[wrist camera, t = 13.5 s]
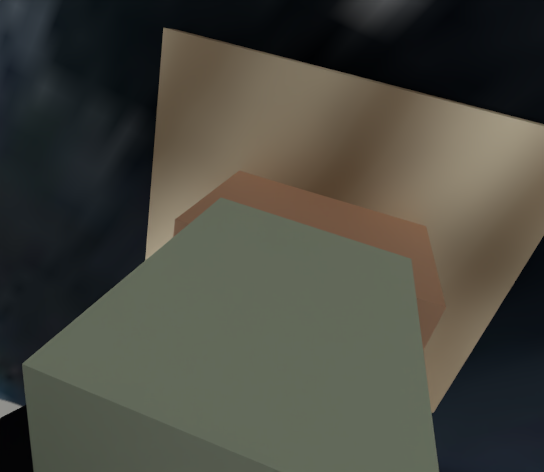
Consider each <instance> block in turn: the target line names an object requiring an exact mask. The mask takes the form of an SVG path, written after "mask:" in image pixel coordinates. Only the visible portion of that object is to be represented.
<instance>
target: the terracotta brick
mask: <svg viewBox="0 0 544 472" xmlns="http://www.w3.org/2000/svg"><path fill="white" fill-rule="evenodd" d="M219 198H225V199H228V200H231V201H234V202H237V203H240V204H243V205H246V206H249V207H252V208H256V209H259V210H262V211H265V212H268V213H271V214H274V215H277V216H280V217H283V218H286V219H290V220H293V221H296V222H299V223H302V224H305V225H308V226H311V227H314V228H317V229H321V230H324V231H327V232H330V233H333V234H336V235H339V236H342V237H345V238H348V239H352V240H355V241H358V242H361V243H364V244H367V245H370V246H373V247H376V248H379V249H383V250H386V251H389V252H392V253H395V254H398V255H401V256H404V257H407V258H410V259H411V260H412V268H413V276H414V283H415V291H416V299H417V306H418V314H419V322H420V329H421V337H422V345H423V350H424V348H425V346H426V344H427V343H428V341H429V339H430V337H431V335H432V333H433V331H434V329H435V328H436V326H437V324H438V322H439V320H440V318H441V316H442V314H443V312H444V311H445V309H446V304H445V300H444V296H443V292H442V288H441V284H440V280H439V276H438V272H437V268H436V264H435V260H434V256H433V252H432V248H431V244H430V240H429V236H428V232H427V228H426V226H424V225H420V224H417V223H413V222H410V221H407V220H403V219H400V218H397V217H393V216H390V215H387V214H383V213H380V212H376V211H373V210H370V209H366V208H363V207H360V206H356V205H353V204H350V203H346V202H343V201H339V200H336V199H333V198H329V197H326V196H323V195H319V194H316V193H313V192H309V191H306V190H302V189H299V188H296V187H292V186H289V185H286V184H282V183H279V182H276V181H272V180H269V179H265V178H262V177H259V176H255V175H252V174H249V173H245V172H242V171H238V172H236V173H235V174H234V175H233V176H231V177H230V178H229V179H227V180H226V181H225V182H223V183H222V184H221V185H219V186H218V187H217V188H216V189H214V190H213V191H212V192H210V193H209V194H208V195H206V196H205V197H204V198H202V199H201V200H200V201H199V202H197V203H196V204H195V205H193V206H192V207H191V208H189V209H188V210H187V211H185V212H184V213H183V214H181V215H180V216H179V217H178V218H176V219H175V225H174V234H173V237H174V236H175V235H177V234H178V233H179V232H180V231H181V230H182V229H184V228H185V227H186V226H187V225H188V224H190V223H191V222H192V221H193V220H194V219H196V218H197V217H198V216H199V215H200V214H202V213H203V212H204V211H205V210H206V209H208V208H209V207H210V206H211V205H212V204H214V203H215V202H216V201H217V200H218V199H219Z"/></svg>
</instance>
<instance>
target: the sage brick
mask: <svg viewBox="0 0 544 472" xmlns="http://www.w3.org/2000/svg"><path fill="white" fill-rule="evenodd" d="M22 369H23V378H24V387H25V396H26V406H27V415H28V424H29V434H30V443H31V452H32V461H33V471H34V472H439V468H438V460H437V452H436V444H435V437H434V429H433V421H432V414H431V406H430V398H429V391H428V383H427V375H426V368H425V360H424V352H423V345H422V337H421V329H420V322H419V314H418V306H417V299H416V291H415V283H414V276H413V268H412V260H411V259H410V258H407V257H404V256H401V255H398V254H395V253H392V252H389V251H386V250H383V249H379V248H376V247H373V246H370V245H367V244H364V243H361V242H358V241H355V240H352V239H348V238H345V237H342V236H339V235H336V234H333V233H330V232H327V231H324V230H321V229H317V228H314V227H311V226H308V225H305V224H302V223H299V222H296V221H293V220H290V219H286V218H283V217H280V216H277V215H274V214H271V213H268V212H265V211H262V210H259V209H256V208H252V207H249V206H246V205H243V204H240V203H237V202H234V201H231V200H228V199H225V198H219V199H218V200H217V201H216V202H215V203H214V204H212V205H211V206H210V207H209V208H208V209H206V210H205V211H204V212H203V213H202V214H200V215H199V216H198V217H197V218H196V219H194V220H193V221H192V222H191V223H190V224H188V225H187V226H186V227H185V228H184V229H182V230H181V231H180V232H179V233H178V234H177V235H175V236H174V237H173V238H172V239H171V240H169V241H168V242H167V243H166V244H165V245H163V246H162V247H161V248H160V249H159V250H157V251H156V252H155V253H154V254H153V255H151V256H150V257H149V258H148V259H147V260H146V261H144V262H143V263H142V264H141V265H140V266H138V267H137V268H136V269H135V270H134V271H132V272H131V273H130V274H129V275H128V276H126V277H125V278H124V279H123V280H122V281H120V282H119V283H118V284H117V285H116V286H114V287H113V288H112V289H111V290H110V291H109V292H107V293H106V294H105V295H104V296H103V297H101V298H100V299H99V300H98V301H97V302H95V303H94V304H93V305H92V306H91V307H89V308H88V309H87V310H86V311H85V312H83V313H82V314H81V315H80V316H79V317H77V318H76V319H75V320H74V321H73V322H72V323H70V324H69V325H68V326H67V327H66V328H64V329H63V330H62V331H61V332H60V333H58V334H57V335H56V336H55V337H54V338H52V339H51V340H50V341H49V342H48V343H46V344H45V345H44V346H43V347H42V348H41V349H39V350H38V351H37V352H36V353H35V354H33V355H32V356H31V357H30V358H29V359H27V360H26V361H25V362H24V363H23V364H22Z"/></svg>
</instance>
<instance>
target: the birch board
mask: <svg viewBox="0 0 544 472" xmlns="http://www.w3.org/2000/svg"><path fill="white" fill-rule="evenodd" d="M238 171H242V172H245V173H249V174H252V175H255V176H259V177H262V178H265V179H269V180H272V181H276V182H279V183H282V184H286V185H289V186H292V187H296V188H299V189H302V190H306V191H309V192H313V193H316V194H319V195H323V196H326V197H329V198H333V199H336V200H339V201H343V202H346V203H350V204H353V205H356V206H360V207H363V208H366V209H370V210H373V211H376V212H380V213H383V214H387V215H390V216H393V217H397V218H400V219H403V220H407V221H410V222H413V223H417V224H420V225H424V226H426V228H427V232H428V236H429V240H430V244H431V248H432V252H433V256H434V260H435V264H436V268H437V272H438V276H439V280H440V284H441V288H442V292H443V296H444V300H445V304H446V309H445V311H444V312H443V314H442V316H441V318H440V320H439V322H438V324H437V326H436V328H435V329H434V331H433V333H432V335H431V337H430V339H429V341H428V343H427V344H426V346H425V348H424V350H423V352H424V360H425V368H426V375H427V383H428V391H429V398H430V406H431V412H432V413H434V411H435V409H436V408H437V406H438V404H439V403H440V401H441V400H442V398H443V396H444V395H445V393H446V392H447V390H448V388H449V387H450V385H451V384H452V382H453V380H454V379H455V377H456V376H457V374H458V372H459V371H460V369H461V368H462V366H463V364H464V363H465V361H466V359H467V358H468V356H469V355H470V353H471V351H472V350H473V348H474V347H475V345H476V343H477V342H478V340H479V339H480V337H481V335H482V334H483V332H484V331H485V329H486V327H487V326H488V324H489V322H490V321H491V319H492V318H493V316H494V314H495V313H496V311H497V310H498V308H499V306H500V305H501V303H502V302H503V300H504V298H505V297H506V295H507V294H508V292H509V290H510V289H511V287H512V285H513V284H514V282H515V281H516V279H517V277H518V276H519V274H520V273H521V271H522V269H523V268H524V266H525V265H526V263H527V261H528V260H529V258H530V257H531V255H532V253H533V252H534V250H535V249H536V247H537V245H538V244H539V242H540V240H541V239H542V237H543V236H544V124H541V123H537V122H533V121H529V120H525V119H521V118H518V117H514V116H510V115H506V114H502V113H498V112H494V111H490V110H487V109H483V108H479V107H475V106H471V105H467V104H463V103H459V102H456V101H452V100H448V99H444V98H440V97H436V96H432V95H428V94H424V93H421V92H417V91H413V90H409V89H405V88H401V87H397V86H393V85H390V84H386V83H382V82H378V81H374V80H370V79H366V78H362V77H359V76H355V75H351V74H347V73H343V72H339V71H335V70H331V69H328V68H324V67H320V66H316V65H312V64H308V63H304V62H300V61H297V60H293V59H289V58H285V57H281V56H277V55H273V54H269V53H266V52H262V51H258V50H254V49H250V48H246V47H242V46H238V45H235V44H231V43H227V42H223V41H219V40H215V39H211V38H207V37H203V36H200V35H196V34H192V33H188V32H184V31H180V30H175V29H168V28H163V40H162V53H161V65H160V78H159V91H158V104H157V117H156V130H155V142H154V155H153V168H152V181H151V194H150V207H149V219H148V232H147V245H146V258H145V261H146V260H147V259H148V258H149V257H150V256H151V255H153V254H154V253H155V252H156V251H157V250H159V249H160V248H161V247H162V246H163V245H165V244H166V243H167V242H168V241H169V240H171V239H172V238H173V234H174V225H175V219H176V218H178V217H179V216H180V215H181V214H183V213H184V212H185V211H187V210H188V209H189V208H191V207H192V206H193V205H195V204H196V203H197V202H199V201H200V200H201V199H202V198H204V197H205V196H206V195H208V194H209V193H210V192H212V191H213V190H214V189H216V188H217V187H218V186H219V185H221V184H222V183H223V182H225V181H226V180H227V179H229V178H230V177H231V176H233V175H234V174H235V173H236V172H238Z"/></svg>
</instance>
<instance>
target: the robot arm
mask: <svg viewBox="0 0 544 472" xmlns="http://www.w3.org/2000/svg"><path fill="white" fill-rule="evenodd" d="M0 472H34V471H33V461H32V452H31V443H30V434H29V424H28V415H27V406H26V405H25V406H23V407H21V408H19V409H17V410H15V411H13V412H11V413H9V414H7V415H5V416H3V417H1V418H0Z"/></svg>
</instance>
